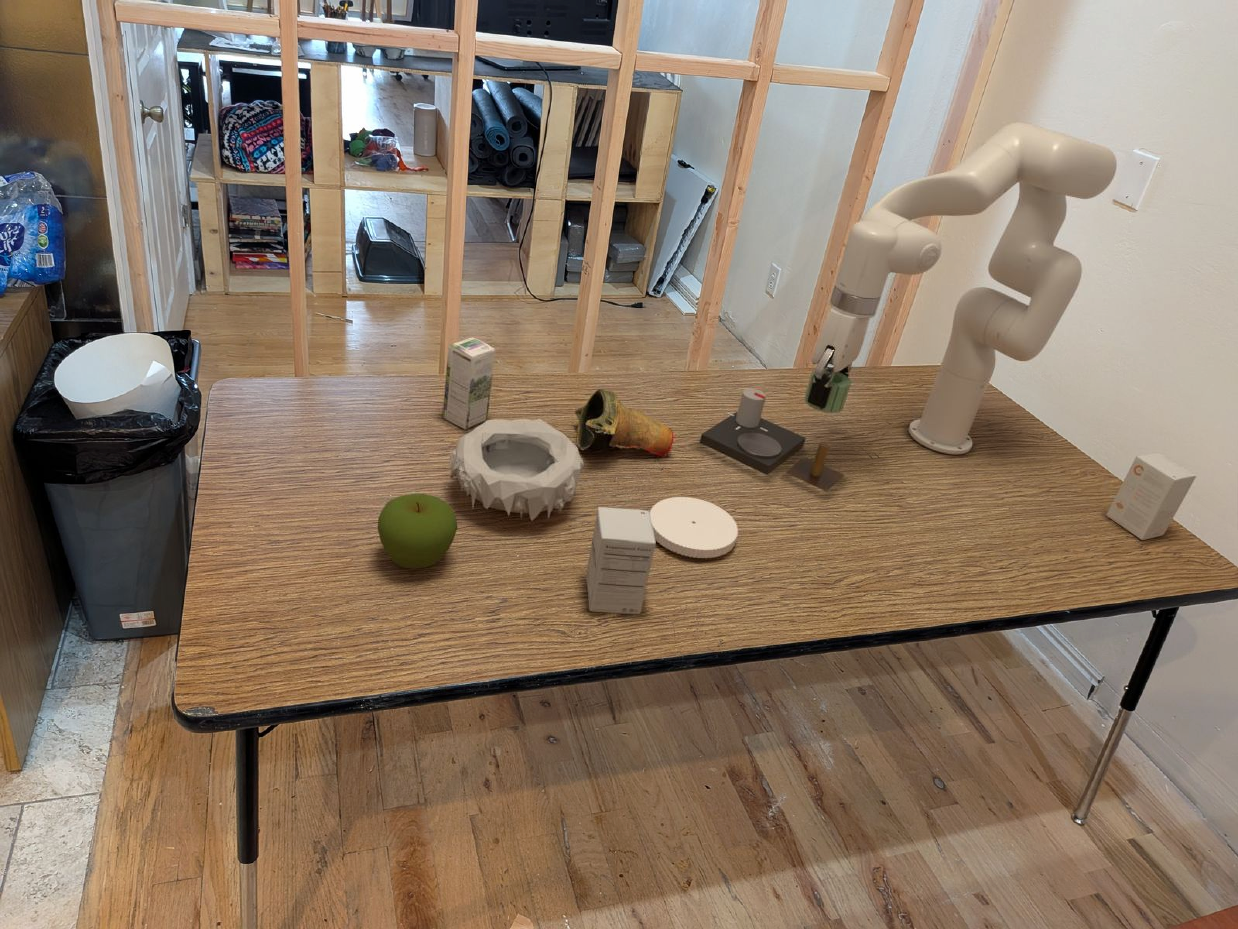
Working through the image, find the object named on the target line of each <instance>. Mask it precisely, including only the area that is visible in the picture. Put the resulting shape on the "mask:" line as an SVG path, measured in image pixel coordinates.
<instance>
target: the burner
mask: <svg viewBox="0 0 1238 929" xmlns="http://www.w3.org/2000/svg"><path fill="white" fill-rule="evenodd" d="M737 445H738V447H739V448H740V449H741V450H742V451H743V452H745V453H747V454H749V455H751V456H754V457H758V458H764V459H770V458H775V457H777V456H779V455H780V453H781V445H780V444H779V443H778V442H777V441H776V440H774V439H773V438H771V437H769V436H766V435H763V434H759V433H745V434H742V435H740V436H739V437H738V440H737Z"/></svg>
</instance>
